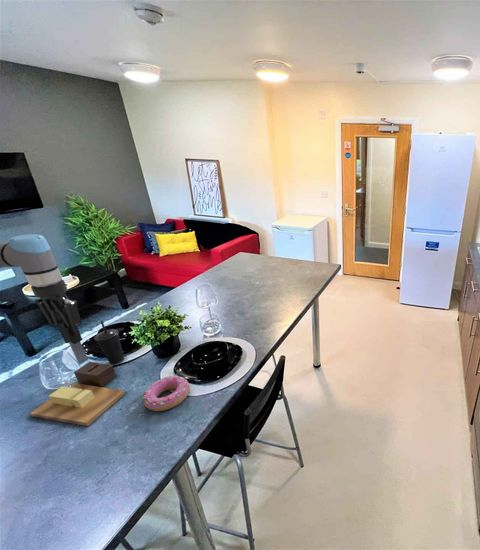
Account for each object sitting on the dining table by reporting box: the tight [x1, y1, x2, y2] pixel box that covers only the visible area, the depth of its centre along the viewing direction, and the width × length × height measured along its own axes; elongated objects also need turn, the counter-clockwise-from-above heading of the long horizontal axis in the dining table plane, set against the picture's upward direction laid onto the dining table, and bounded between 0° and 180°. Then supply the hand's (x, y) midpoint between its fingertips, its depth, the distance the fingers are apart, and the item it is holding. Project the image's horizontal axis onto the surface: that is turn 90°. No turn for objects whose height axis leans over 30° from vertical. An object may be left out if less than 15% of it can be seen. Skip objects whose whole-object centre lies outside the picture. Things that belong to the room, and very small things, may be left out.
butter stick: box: [48, 385, 83, 406], centre depth 103 cm, size 8×5×4 cm, turn 82°
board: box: [29, 382, 126, 427], centre depth 103 cm, size 22×14×2 cm, turn 82°
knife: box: [58, 320, 89, 366], centre depth 103 cm, size 2×3×18 cm
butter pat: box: [72, 390, 95, 408], centre depth 102 cm, size 3×5×4 cm, turn 172°
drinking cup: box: [94, 320, 125, 365], centre depth 120 cm, size 8×8×20 cm
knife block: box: [73, 361, 117, 388], centre depth 113 cm, size 10×6×6 cm, turn 82°
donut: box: [141, 375, 190, 412], centre depth 107 cm, size 14×14×5 cm
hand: (74, 341), depth 103 cm, fingers closed on knife, 2 cm apart
